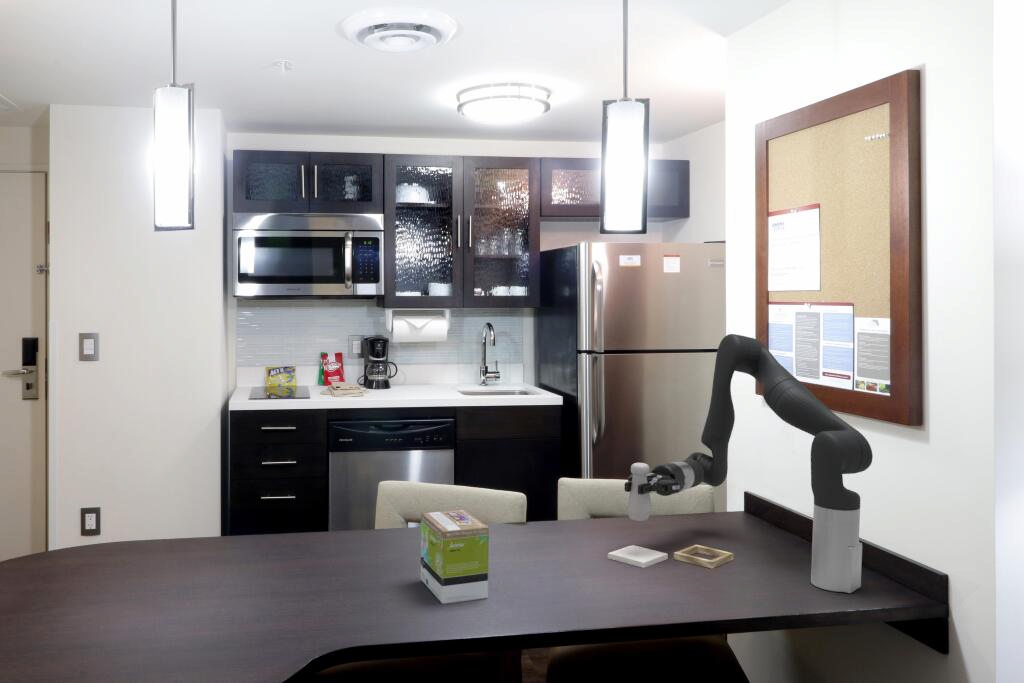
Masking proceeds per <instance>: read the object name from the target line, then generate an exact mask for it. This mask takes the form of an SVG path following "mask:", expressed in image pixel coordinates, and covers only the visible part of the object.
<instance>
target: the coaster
mask: <svg viewBox="0 0 1024 683" xmlns="http://www.w3.org/2000/svg"><path fill="white" fill-rule="evenodd" d="M607 559H609V560H613V561H616V562H621V563H624V564H628V565H631V566H635V567H640V568H642V569H646V568H647V567H650V566H652V565H656V564H657V563H661V562H664V561H666V560H668V559H669V554H668V553H666V552H662V551H659V550H654V549H650V548H646V547H641V546H637V545H634V544H632V545H628V546H624V547H623V548H619V549H616V550H613V551H610V552H608V553H607Z"/></svg>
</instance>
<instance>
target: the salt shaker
mask: <svg viewBox="0 0 1024 683" xmlns="http://www.w3.org/2000/svg"><path fill="white" fill-rule="evenodd" d="M630 473H631V474H633V478H632V484H631V491H630V492H628V494H629V495H628V500H627V504H626V511H627V514H628V517H629V519H630V520H633V521H635V522H636V521H638V522H643V521H648V519H649V518H650V516H651V513H652V511H653V507H652V506H653V505H652V501H651V496H650V494H651V493H649V492H648V493H646V494H642V495H640V494H638V485H640V484H645V483H647V477H646V475H647V474H649V473H650V466H649V464H647V463H645V462H635V463H633V464H631V466H630Z"/></svg>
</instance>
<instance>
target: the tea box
mask: <svg viewBox="0 0 1024 683" xmlns="http://www.w3.org/2000/svg"><path fill="white" fill-rule="evenodd" d="M420 517H421V518H420V580H421V581H422V583H423V584H425V586H426V588H428V589H429V590H430V591H431V593H432V594H433V595H434V596H435V597H436V599H438V601H439V602H440V603H441V604H442V605H444V604H445V605H446V604H455V603H459V602H460V603H461V602H469V601H475V600H482V599H487V598H488V595H489V544H490V543H489V540H490V539H489V538H490V534H489V532H490V529H489V526H488V525H486V524H485V523H484V522H482V521H480V520H479V519H478V518H476V517H475V516H474V515H472V514H471V513H469V512H468V511H467V510H465V509H454V510H444V511H434V512H433V511H432V512H421V516H420Z"/></svg>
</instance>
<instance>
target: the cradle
mask: <svg viewBox="0 0 1024 683" xmlns="http://www.w3.org/2000/svg"><path fill="white" fill-rule="evenodd" d="M696 553H699V554H703V555H706V556H711V557H715V558H713V559H707V558H703V557H699V556H694V554H696ZM673 560H676V561H680V562H684V563H688V564H692V565H697V566H699V567H700V566H701V567H703V568H706V569H711V570H712V569H715V568H717V567H720V566H721V565H724V564H727V563H729V562H732V561H733V560H734V552H729V551H725V550H722V549H717V548H712V547H708V546H703V545H699V544H694V545H691V546H688V547H685V548H683V549H680V550H678V551H674V552H673Z"/></svg>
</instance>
